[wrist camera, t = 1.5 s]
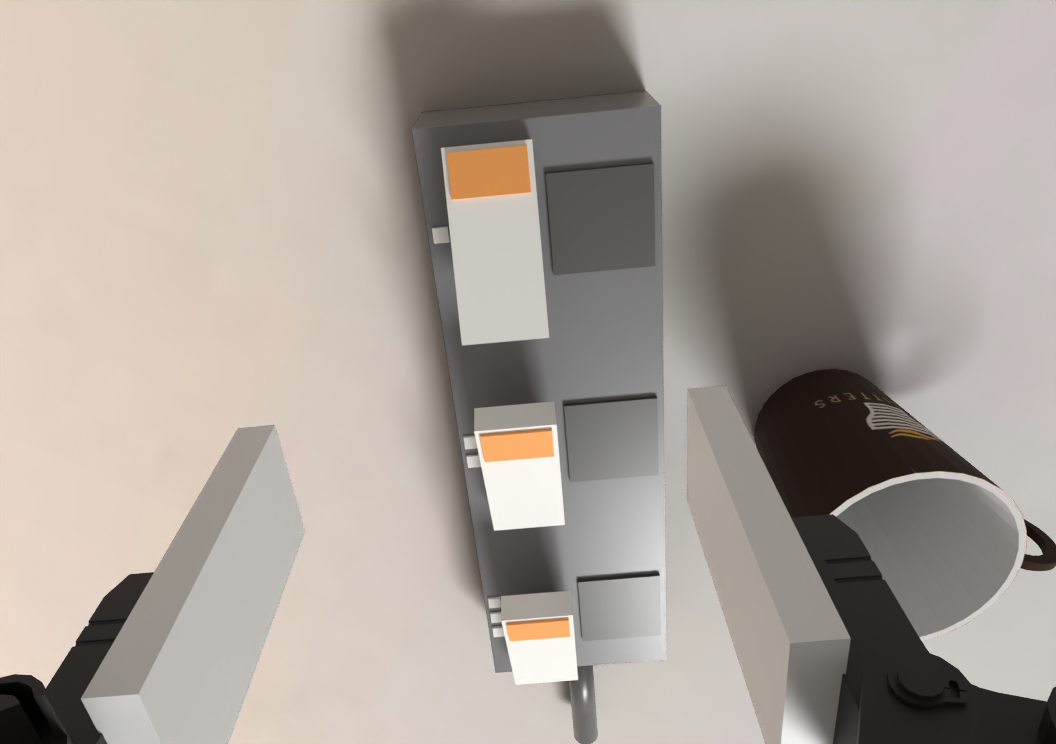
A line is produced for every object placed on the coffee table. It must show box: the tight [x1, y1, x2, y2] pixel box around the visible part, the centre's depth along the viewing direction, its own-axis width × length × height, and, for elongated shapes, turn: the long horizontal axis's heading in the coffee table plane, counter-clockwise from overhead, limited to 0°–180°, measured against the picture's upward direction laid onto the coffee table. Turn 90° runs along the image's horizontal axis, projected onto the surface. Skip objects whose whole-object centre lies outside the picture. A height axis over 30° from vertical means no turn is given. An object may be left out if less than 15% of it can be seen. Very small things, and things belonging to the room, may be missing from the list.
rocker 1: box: [441, 139, 549, 345], centre depth 29 cm, size 7×3×1 cm, turn 5°
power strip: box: [412, 91, 666, 744], centre depth 38 cm, size 36×9×4 cm, turn 5°
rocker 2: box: [474, 401, 565, 531], centre depth 33 cm, size 7×3×1 cm, turn 6°
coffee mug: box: [755, 369, 1056, 641], centre depth 35 cm, size 12×9×10 cm
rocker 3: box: [501, 591, 578, 685], centre depth 38 cm, size 7×3×1 cm, turn 6°
